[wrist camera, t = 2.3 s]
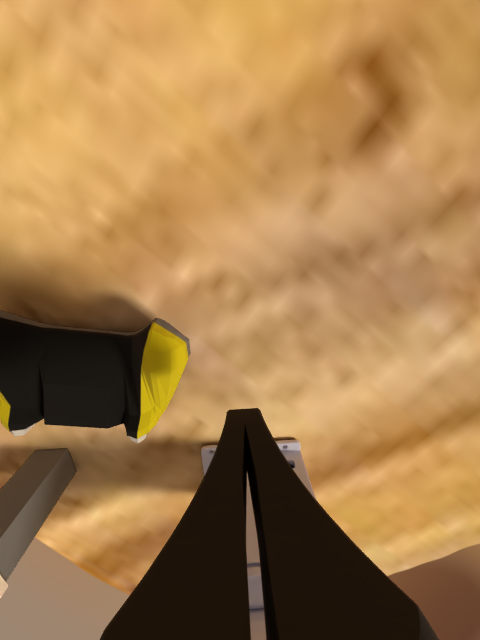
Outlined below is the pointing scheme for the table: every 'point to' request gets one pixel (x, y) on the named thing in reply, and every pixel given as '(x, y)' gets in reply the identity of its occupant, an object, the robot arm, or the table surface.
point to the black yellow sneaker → (87, 375)
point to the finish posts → (30, 503)
